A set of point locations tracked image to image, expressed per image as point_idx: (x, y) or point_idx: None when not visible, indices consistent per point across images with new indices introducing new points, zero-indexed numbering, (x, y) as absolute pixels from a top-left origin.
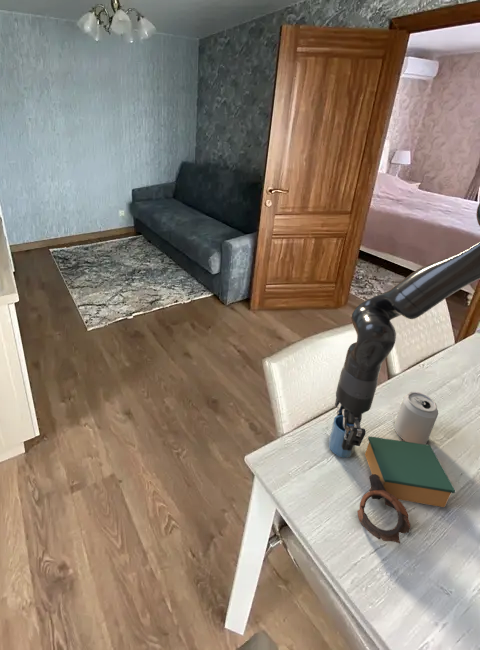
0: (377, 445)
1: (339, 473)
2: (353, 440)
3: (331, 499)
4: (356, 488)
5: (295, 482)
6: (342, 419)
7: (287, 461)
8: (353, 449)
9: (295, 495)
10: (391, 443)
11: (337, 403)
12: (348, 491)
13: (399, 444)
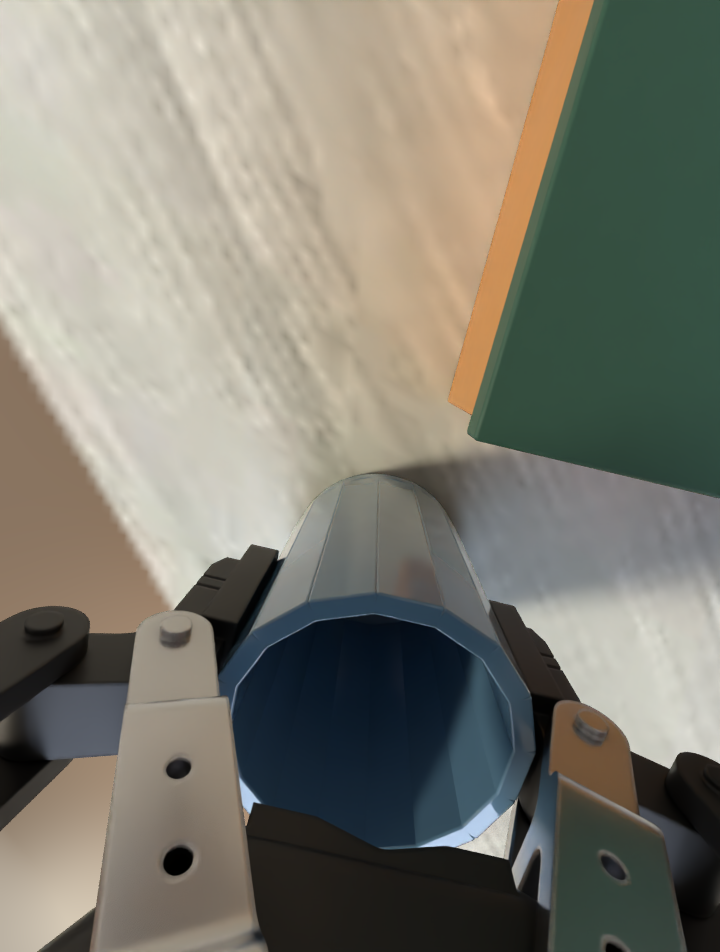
0: (618, 403)
1: (554, 645)
2: (715, 891)
3: None
4: (665, 593)
5: None
6: (251, 674)
7: None
8: (446, 518)
9: None
10: (630, 173)
11: (21, 802)
12: (671, 648)
13: (669, 41)
